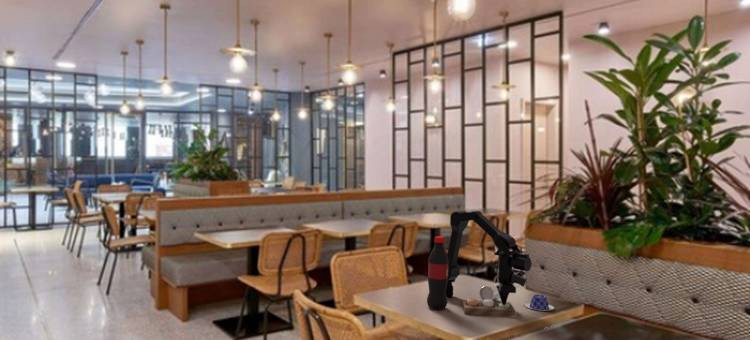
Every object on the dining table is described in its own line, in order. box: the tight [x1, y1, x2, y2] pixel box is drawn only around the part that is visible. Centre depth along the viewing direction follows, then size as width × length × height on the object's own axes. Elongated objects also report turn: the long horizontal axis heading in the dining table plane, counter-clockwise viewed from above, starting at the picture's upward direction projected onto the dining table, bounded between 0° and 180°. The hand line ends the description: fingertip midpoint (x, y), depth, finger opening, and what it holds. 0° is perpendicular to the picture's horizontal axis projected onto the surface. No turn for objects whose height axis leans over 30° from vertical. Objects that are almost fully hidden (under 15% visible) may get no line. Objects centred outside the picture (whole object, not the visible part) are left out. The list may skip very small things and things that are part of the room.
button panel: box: [461, 299, 516, 318], centre depth 221 cm, size 20×12×2 cm, turn 85°
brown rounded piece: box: [466, 298, 479, 306], centre depth 221 cm, size 4×4×3 cm
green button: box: [498, 303, 510, 308], centre depth 220 cm, size 4×4×3 cm
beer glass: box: [478, 284, 501, 301], centre depth 232 cm, size 7×7×15 cm
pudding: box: [524, 294, 555, 312], centre depth 228 cm, size 12×12×5 cm
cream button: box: [482, 299, 495, 307], centre depth 220 cm, size 4×4×3 cm
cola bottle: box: [426, 235, 449, 311], centre depth 222 cm, size 8×8×30 cm
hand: (503, 304), depth 220 cm, fingers closed, pressing on green button
